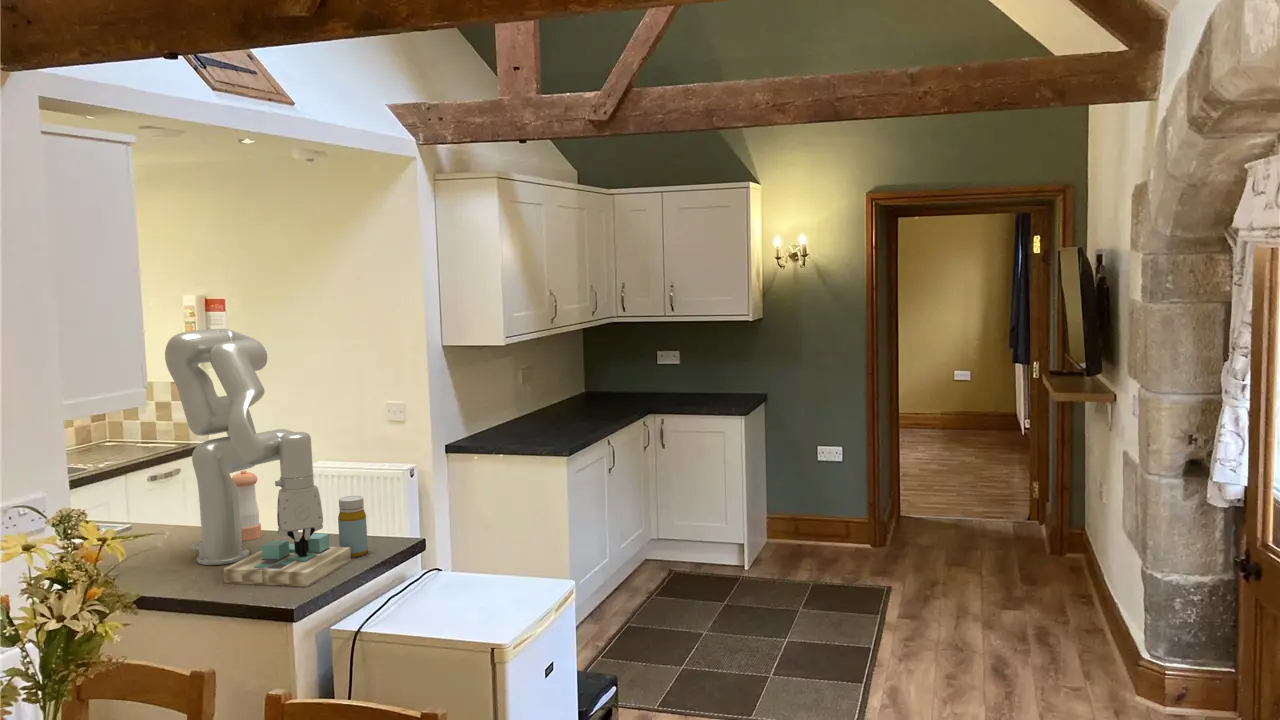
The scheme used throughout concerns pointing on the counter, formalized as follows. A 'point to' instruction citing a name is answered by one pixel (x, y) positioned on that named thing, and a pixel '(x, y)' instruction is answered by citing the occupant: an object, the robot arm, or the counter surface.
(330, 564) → the button board
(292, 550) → the button
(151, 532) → the counter surface
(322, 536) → the button
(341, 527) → the bottle
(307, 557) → the button
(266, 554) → the button
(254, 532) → the salt shaker
